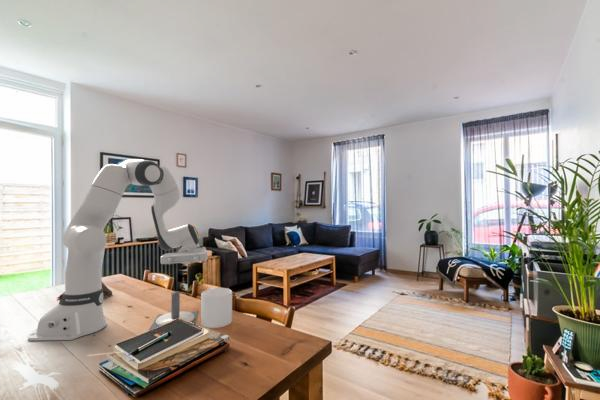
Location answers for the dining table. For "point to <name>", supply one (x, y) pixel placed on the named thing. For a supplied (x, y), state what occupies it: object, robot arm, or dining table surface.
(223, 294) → the cup
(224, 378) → the dining table surface
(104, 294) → the worn brown figurine
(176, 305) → the lid
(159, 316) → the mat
